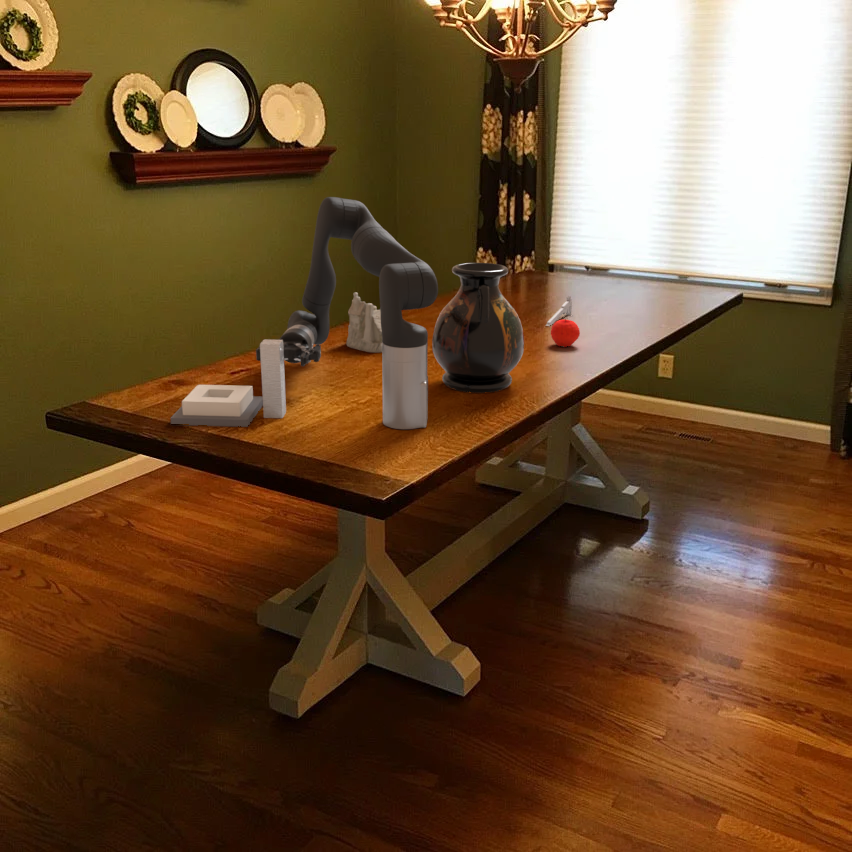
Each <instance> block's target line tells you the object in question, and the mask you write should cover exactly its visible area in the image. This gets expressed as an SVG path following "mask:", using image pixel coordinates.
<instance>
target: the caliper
mask: <svg viewBox="0 0 852 852" xmlns="http://www.w3.org/2000/svg"><path fill="white" fill-rule="evenodd" d="M572 300H573V299H572V296H571V295H568V296H567V297H566V301H565V302H564V303H562V304H561V306H560V308H559V309H558V310H557V311H556V312H555V313H554V314H553V316H552V317H550V319H548V321H547V322H546V324H545V326H549V327H551V326H553V325H552V324H554V323H555V322H556V321H558V320H559V319H560V317H561V316H563V315H566V316H568V315H569V316H570V315H572V312H573V311H572V309H573V301H572ZM550 325H551V326H550Z"/></svg>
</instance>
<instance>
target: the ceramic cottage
mask: <svg viewBox="0 0 852 852" xmlns="http://www.w3.org/2000/svg"><path fill="white" fill-rule="evenodd" d="M347 314H348V317H349V325H347V327H348V330H347V331H348V335H347V338H346V346H347V347H349V348H350V349H354V350H359V351H363V352H367V353H374V354H375V353H382V330H381V312H380V309H377V306H376V305H374V304H373V303H370V302H368V303H366V301H362V299H361V297H360V296H359V293H358V292H356V291H355V292H353V299H352V300H351V305H350V307H349V309H348V313H347Z"/></svg>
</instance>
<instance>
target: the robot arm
mask: <svg viewBox="0 0 852 852" xmlns="http://www.w3.org/2000/svg"><path fill="white" fill-rule="evenodd" d="M315 222H316V223H315V230H314V236H313V244H312V251H311V259H310V268H309V272H308V277H307V281H306V284H305V288H304V292H303V296H302V299H301V303H302V306H303V308H305V309H306V310H307V311H309V312H307V311H305V310H299V309H298V310H295V311H293V312H292V313H291V315H290V316H289V318H288V321H287V329H286V330H285V331H284V333H283V334H282V335H281V336H280V338H279V339H278V340H283V351H284V362H287V363H291V364H298V363H300V367H305V365H308V364H309V363H311V362H312V361H313V362H315V363H319V361H320V359H321V357H322V347H321V346H322V345H323V344H324V343H325V342H326V340H328V337H329V334H330V307H331V304H332V303H331V302H332V300H333V297H334V293H335V290H336V286H337V278H336V277H337V275H336V273H335V269H334V266H333V264H332V261H331V257H330V255H329V241H330V239H331V238H334V239H341V240H348V241H349V240H350V241H351V243H350V249H351V254H352V256H353V258H354V259H355V261H357V263H358V264H359V265H360V266H361V267H362V269H363V270H364V271H366V272H367V273H369V274H371V275H374V276H376V277H378V278H379V279H378V293H379V294H378V295H379V307H380V308H379V310H380V312H381V330H382V352H381V353H382V355H381V357H382V361H381V363H382V366H381V367H382V368H381V370H382V371H381V372H382V379H381V380H382V381H381V382H382V424H383V425H384V426H385V427H388V428H391V429H396V430H415V429H419V428H426V427H427V424H428V415H429V414H428V413H429V411H428V403H429V402H428V401H429V398H428V397H429V375H428V342H429V340H428V336H429V333H428V330H427V329H426V327H424V326H422V325H419V324H416V323H412V322H409V321H408V320H405V319H404V318H403V311H409V310H420V309H425V308H427V307H430V306H432V305H433V304H434V302H435V301H436V299H437V297H438V295H439V294H438V293H439V285H438V279H437V277H436V274H435V272H434V270H433V269H432V268H431V266H430V265H429V264H428V263H427V262H425V261H424V260H422V259H421V258H419V257H417V256H415V255H414V254H412V253H411V252H410V251H408V249H406V248H405V247H404V246H402V245H401V243H399V242H398V241H397V240H396V239H395V238H394V237H393V236H392V234H391V233H389V232H388V231H387V230H386V229H385V228H383V226H381V224H380V223H379V222H377V221H376V219H375V218H374V216H373V215H372V213H371V212H370V210H369V209H368V207H367V206H366V205H365V204H364V203H363V202H361V201H359V200H356V199H350V198H349V199H348V198H342V197H336V196H327V197H324V199H323V200H322V201H321V203H320V205H319V208H318V212H317V217H316V221H315ZM255 356H256V357H255V358H256V361H258V362H260V364H261V355H260V345H259V346H258V347H257V348H256V349H255Z"/></svg>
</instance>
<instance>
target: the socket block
mask: <svg viewBox="0 0 852 852" xmlns="http://www.w3.org/2000/svg"><path fill="white" fill-rule="evenodd" d="M253 389H254V388H253V385H234V384H233V385H227V384H197V385H196V386H195V387H194V388H193V389H192V390H191V391H190V392H189V393H188V394H187V395H186V396H185V398H184V399H182V400H181V406H180V407H179V409H178V410H177V411H176V412H175V413H173V415H172V416H171V417H170V425H171V424H189V425H188V426H198V425H207V426H206V427H236V428H237V427H238V426H239V427H240V426H241V427H243V428H245V427H246V428H247V427H249V426H250V424H251V423H252V421H253V420H254V419H253V418H256V416H257V414H258V413H259V412H258V411H260V410H261V409H262V408H263V395H262V396H260V395H259V396H255V395H254V390H253ZM250 422H251V423H250ZM248 425H249V426H248Z"/></svg>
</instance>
